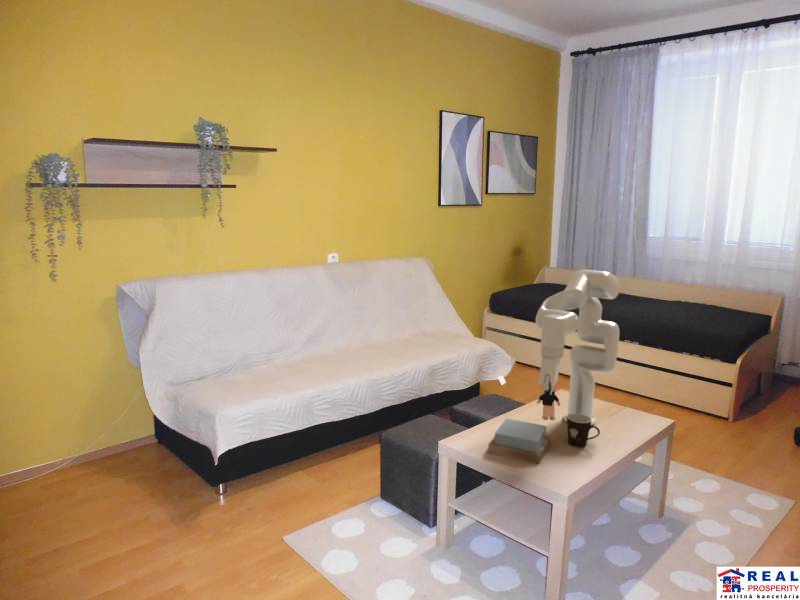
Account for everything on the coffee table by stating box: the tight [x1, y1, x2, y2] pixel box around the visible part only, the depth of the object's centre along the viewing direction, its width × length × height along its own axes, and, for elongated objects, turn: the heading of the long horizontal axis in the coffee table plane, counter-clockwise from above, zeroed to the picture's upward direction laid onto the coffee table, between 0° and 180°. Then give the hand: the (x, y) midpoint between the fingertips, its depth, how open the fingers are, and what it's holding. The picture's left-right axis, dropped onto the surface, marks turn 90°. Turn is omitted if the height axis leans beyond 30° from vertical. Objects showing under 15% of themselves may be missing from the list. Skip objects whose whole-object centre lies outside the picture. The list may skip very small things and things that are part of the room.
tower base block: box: [487, 434, 551, 465], centre depth 201 cm, size 18×18×4 cm
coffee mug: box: [566, 414, 601, 448], centre depth 203 cm, size 12×9×10 cm
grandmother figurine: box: [536, 384, 561, 421], centre depth 188 cm, size 8×4×13 cm, turn 93°
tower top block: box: [494, 417, 547, 453], centre depth 200 cm, size 15×15×4 cm
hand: (548, 402), depth 188 cm, fingers closed on grandmother figurine, 2 cm apart
